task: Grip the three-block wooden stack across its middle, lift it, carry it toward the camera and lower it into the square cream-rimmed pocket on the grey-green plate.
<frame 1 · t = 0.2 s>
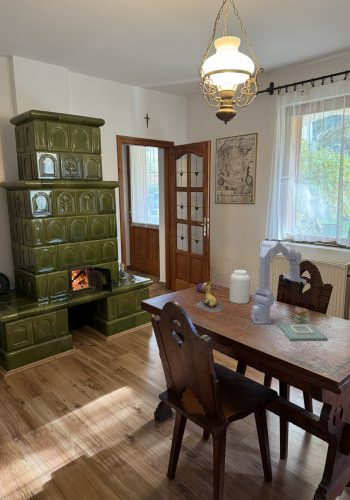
hand: (294, 292, 205), 10 cm above the table, tool pointing down, fingers open, 7 cm apart
plate: (301, 332, 172), on the table
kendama: (205, 294, 236), on the table
yellow giraffe figurine: (210, 307, 211), on the table
block stack: (300, 323, 185), on the table
white jar: (239, 301, 222), on the table
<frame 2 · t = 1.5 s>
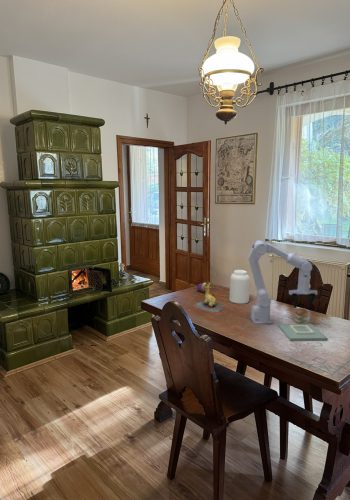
hand: (302, 307, 184), 9 cm above the table, tool pointing down, fingers open, 7 cm apart
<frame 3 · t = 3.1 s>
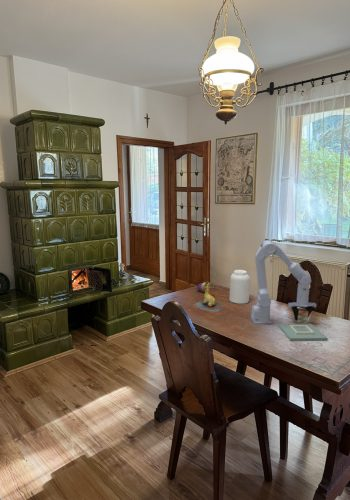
hand: (301, 319, 185), 2 cm above the table, tool pointing down, fingers closed on block stack, 5 cm apart
block stack: (300, 323, 185), on the table, touching gripper
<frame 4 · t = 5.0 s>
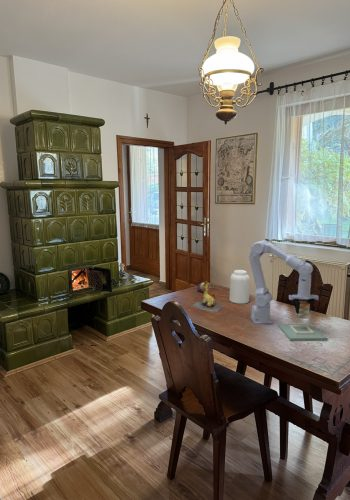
hand: (302, 313, 175), 9 cm above the table, tool pointing down, fingers closed on block stack, 5 cm apart
block stack: (302, 316, 175), point 7 cm above the table, touching gripper
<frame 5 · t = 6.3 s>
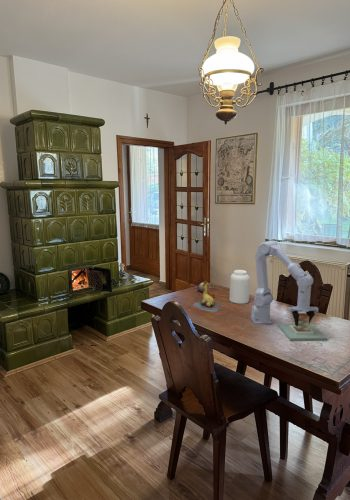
hand: (301, 325, 171), 4 cm above the table, tool pointing down, fingers closed on block stack, 5 cm apart
block stack: (301, 329, 172), point 2 cm above the table, touching gripper
when the fingers open (4 cm above the table, at t = 7.1 s): block stack stays where it is, resting on plate.
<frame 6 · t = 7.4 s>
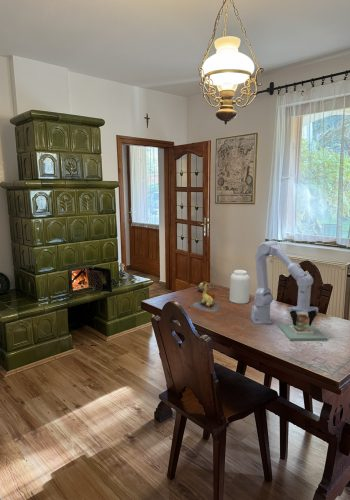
hand: (301, 325, 171), 4 cm above the table, tool pointing down, fingers open, 7 cm apart
block stack: (301, 330, 172), point 1 cm above the table, touching plate
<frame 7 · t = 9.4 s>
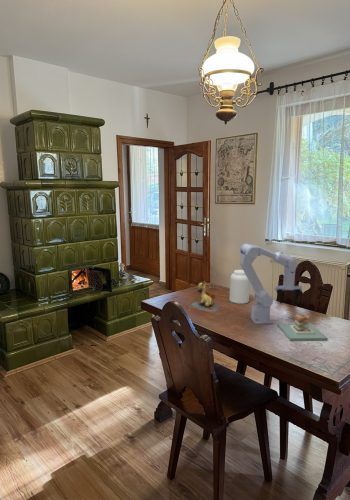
hand: (287, 302, 189), 9 cm above the table, tool pointing down, fingers open, 7 cm apart
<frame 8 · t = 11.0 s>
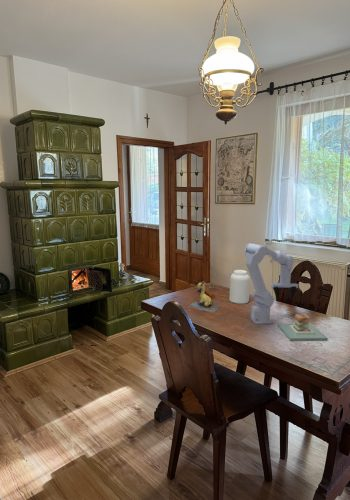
hand: (283, 299, 194), 9 cm above the table, tool pointing down, fingers open, 7 cm apart
at the end: block stack 0.2 cm off-centre on the plate, point 1.2 cm above the plate's base; block stack tilted 0°; the gripper is holding nothing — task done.
